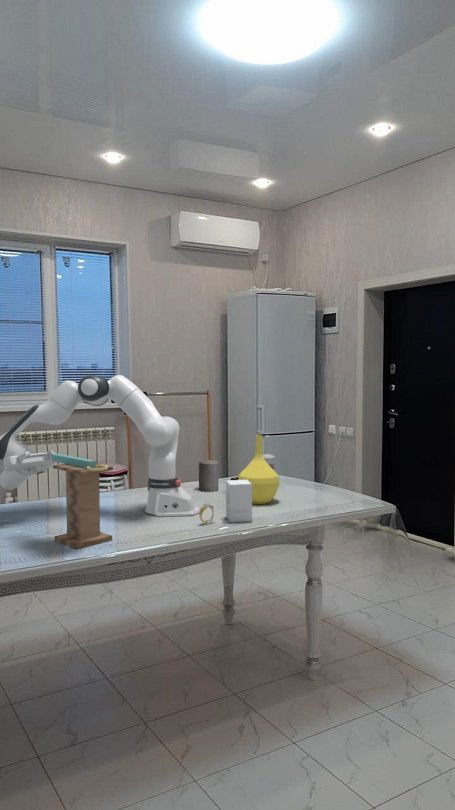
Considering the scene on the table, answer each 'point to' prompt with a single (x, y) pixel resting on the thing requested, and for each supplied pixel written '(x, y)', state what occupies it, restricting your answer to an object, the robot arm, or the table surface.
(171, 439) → the robot arm
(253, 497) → the vase
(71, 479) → the stand
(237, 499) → the supplement box
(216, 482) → the pillar candle
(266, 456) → the french press
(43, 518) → the table surface
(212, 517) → the ring
